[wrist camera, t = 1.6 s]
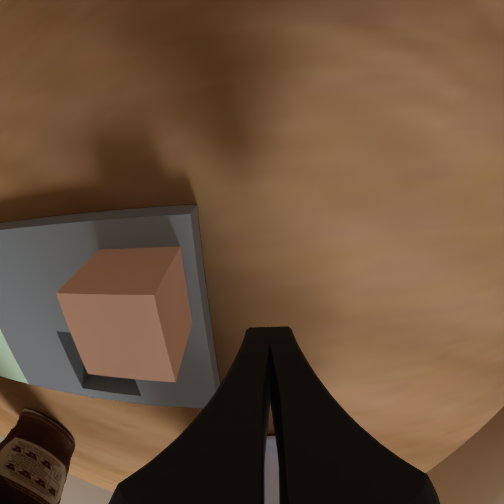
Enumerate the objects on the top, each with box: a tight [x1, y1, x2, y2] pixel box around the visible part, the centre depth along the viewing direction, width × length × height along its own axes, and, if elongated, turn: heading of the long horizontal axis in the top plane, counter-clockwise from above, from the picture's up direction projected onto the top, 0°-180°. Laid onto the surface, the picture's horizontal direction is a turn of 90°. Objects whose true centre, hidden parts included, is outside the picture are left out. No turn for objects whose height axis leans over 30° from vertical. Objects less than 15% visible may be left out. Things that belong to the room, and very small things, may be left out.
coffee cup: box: [0, 409, 75, 504], centre depth 18 cm, size 9×8×13 cm
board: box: [0, 204, 220, 408], centre depth 16 cm, size 12×22×3 cm, turn 93°
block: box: [56, 246, 192, 382], centre depth 13 cm, size 4×4×4 cm
